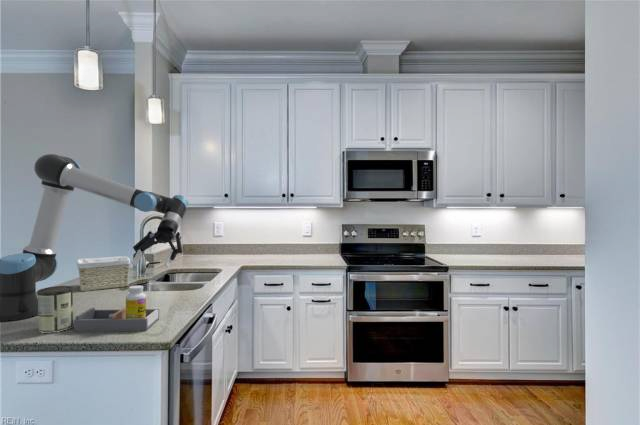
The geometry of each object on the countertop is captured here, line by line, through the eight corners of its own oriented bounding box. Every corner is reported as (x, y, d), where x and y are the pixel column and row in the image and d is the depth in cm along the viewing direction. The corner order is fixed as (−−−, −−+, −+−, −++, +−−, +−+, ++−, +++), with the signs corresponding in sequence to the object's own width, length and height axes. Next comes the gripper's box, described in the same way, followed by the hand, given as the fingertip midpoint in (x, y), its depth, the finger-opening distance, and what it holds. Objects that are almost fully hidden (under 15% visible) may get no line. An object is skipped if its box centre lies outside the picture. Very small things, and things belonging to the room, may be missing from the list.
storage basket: (77, 292, 190) (77, 262, 190) (76, 286, 204) (76, 258, 204) (131, 287, 203) (131, 259, 203) (127, 281, 217) (127, 255, 216)
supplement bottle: (138, 325, 137) (138, 289, 137) (121, 324, 139) (121, 288, 138) (149, 320, 144) (150, 285, 144) (133, 318, 145) (134, 284, 145)
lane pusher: (103, 326, 135) (103, 315, 135) (115, 318, 145) (115, 307, 145) (115, 326, 136) (115, 315, 136) (127, 317, 146) (127, 307, 146)
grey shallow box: (74, 331, 133) (74, 317, 133) (93, 320, 146) (93, 307, 146) (146, 330, 135) (146, 316, 135) (159, 319, 148) (159, 306, 148)
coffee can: (50, 324, 141) (50, 285, 141) (79, 324, 141) (79, 285, 141) (30, 334, 131) (29, 292, 130) (61, 333, 131) (61, 292, 131)
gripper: (199, 231, 169) (183, 272, 154) (145, 229, 171) (124, 269, 157) (194, 219, 163) (177, 260, 149) (138, 218, 166) (116, 258, 151)
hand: (150, 265), depth 153 cm, fingers open, 13 cm apart
